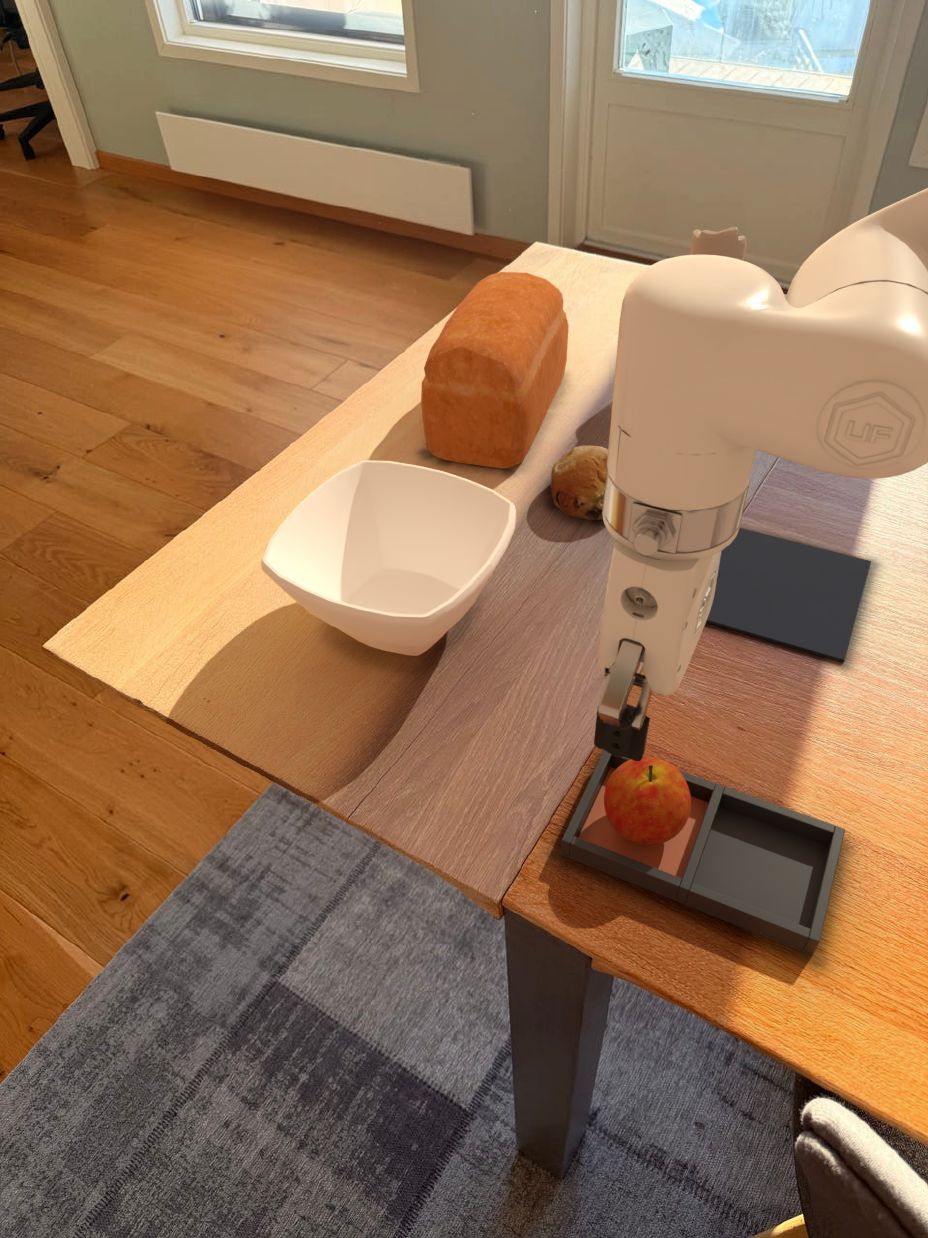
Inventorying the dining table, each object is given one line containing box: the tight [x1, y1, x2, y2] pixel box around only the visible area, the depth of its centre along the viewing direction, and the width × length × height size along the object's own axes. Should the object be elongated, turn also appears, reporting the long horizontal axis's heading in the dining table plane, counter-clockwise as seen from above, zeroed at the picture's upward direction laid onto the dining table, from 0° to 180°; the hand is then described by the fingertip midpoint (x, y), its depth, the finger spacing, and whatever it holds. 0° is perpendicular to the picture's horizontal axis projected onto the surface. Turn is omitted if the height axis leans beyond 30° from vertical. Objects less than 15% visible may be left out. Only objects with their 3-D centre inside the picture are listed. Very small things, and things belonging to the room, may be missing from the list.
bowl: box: [260, 459, 517, 657], centre depth 92 cm, size 22×22×12 cm
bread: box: [420, 271, 569, 469], centre depth 118 cm, size 14×26×16 cm, turn 162°
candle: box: [689, 226, 747, 261], centre depth 126 cm, size 7×14×20 cm, turn 154°
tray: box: [560, 750, 846, 957], centre depth 74 cm, size 20×11×2 cm, turn 64°
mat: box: [706, 527, 872, 663], centre depth 97 cm, size 20×16×1 cm
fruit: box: [604, 755, 691, 845], centre depth 73 cm, size 7×7×8 cm
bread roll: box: [550, 445, 608, 521], centre depth 108 cm, size 10×10×8 cm
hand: (641, 698), depth 62 cm, fingers open, 9 cm apart
